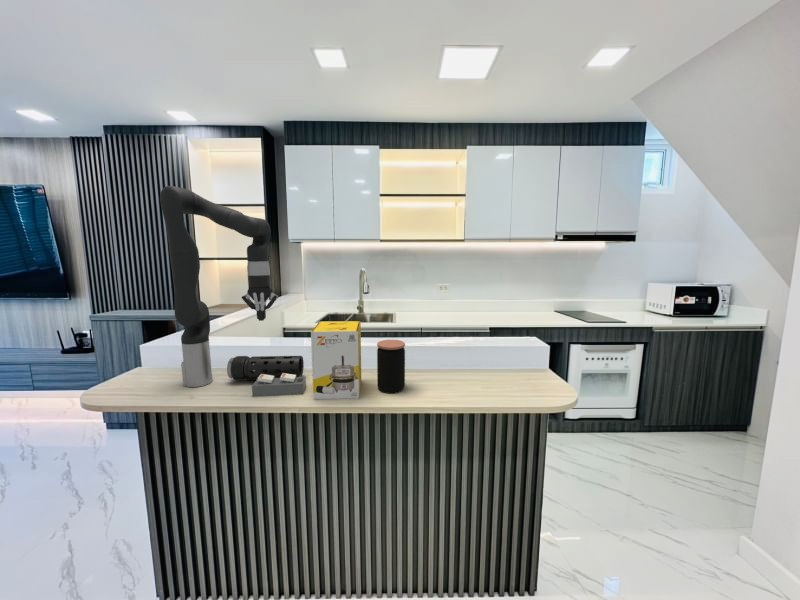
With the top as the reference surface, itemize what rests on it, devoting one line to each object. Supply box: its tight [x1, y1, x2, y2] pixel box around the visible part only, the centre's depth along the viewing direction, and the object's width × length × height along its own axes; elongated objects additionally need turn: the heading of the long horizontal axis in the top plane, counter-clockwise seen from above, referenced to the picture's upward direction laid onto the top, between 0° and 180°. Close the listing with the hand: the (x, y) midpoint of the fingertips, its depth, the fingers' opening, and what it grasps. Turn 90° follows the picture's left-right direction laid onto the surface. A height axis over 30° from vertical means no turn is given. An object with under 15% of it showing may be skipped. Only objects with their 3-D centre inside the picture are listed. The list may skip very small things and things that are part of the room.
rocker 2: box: [280, 373, 296, 382], centre depth 125 cm, size 5×4×1 cm
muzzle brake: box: [226, 355, 305, 382], centre depth 135 cm, size 10×28×10 cm, turn 93°
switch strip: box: [251, 376, 307, 398], centre depth 125 cm, size 18×7×4 cm, turn 97°
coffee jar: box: [376, 339, 406, 394], centre depth 127 cm, size 11×11×18 cm
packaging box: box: [310, 320, 362, 401], centre depth 125 cm, size 16×16×25 cm
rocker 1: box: [257, 374, 275, 383], centre depth 124 cm, size 5×4×1 cm
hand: (261, 320), depth 123 cm, fingers closed
